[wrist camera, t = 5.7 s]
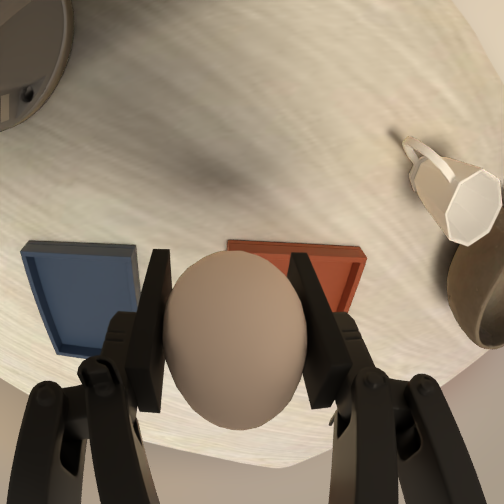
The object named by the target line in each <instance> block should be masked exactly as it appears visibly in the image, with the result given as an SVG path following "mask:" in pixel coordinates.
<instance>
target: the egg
mask: <svg viewBox="0 0 504 504" xmlns="http://www.w3.org/2000/svg"><path fill="white" fill-rule="evenodd" d="M163 347H164V355H165V360H166V362H167V365H168V367H169V370H170V372H171V375H172V377H173V380H174V382H175V385H176V387H177V388H178V390H179V391H180V393H181V394H182V395H183V397H184V398H185V400H186V401H187V403H188V404H189V405H190V406H191V408H192V409H193V410H194V411H195V412H197V413H198V414H199V415H200V416H202V417H203V418H204V419H206V420H207V421H209V422H211V423H213V424H215V425H217V426H219V427H223V428H227V429H231V430H247V429H252V428H257V427H259V426H261V425H263V424H265V423H267V422H268V421H270V420H271V419H273V418H274V417H275V416H276V415H278V414H279V413H280V412H281V411H282V410H283V409H284V408H285V407H286V406H287V404H288V403H289V402H290V401H291V399H292V397H293V395H294V393H295V390H296V388H297V386H298V384H299V382H300V380H301V376H302V372H303V368H304V363H305V359H306V355H307V323H306V320H305V316H304V312H303V308H302V304H301V301H300V299H299V297H298V295H297V293H296V291H295V289H294V288H293V286H292V284H291V283H290V281H289V280H288V278H287V277H286V276H285V275H284V274H283V273H282V272H281V271H280V270H279V269H278V268H276V267H275V266H274V265H273V264H272V263H270V262H269V261H268V260H266V259H264V258H262V257H260V256H257V255H254V254H251V253H247V252H244V251H220V252H216V253H213V254H211V255H208V256H206V257H204V258H202V259H201V260H199V261H198V262H196V263H195V264H193V265H192V266H190V267H189V268H187V270H186V271H185V272H184V273H183V274H182V275H181V276H180V277H179V279H178V280H177V282H176V284H175V286H174V288H173V289H172V291H171V293H170V295H169V297H168V300H167V304H166V308H165V311H164V317H163Z"/></svg>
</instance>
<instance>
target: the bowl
mask: <svg viewBox="0 0 504 504" xmlns="http://www.w3.org/2000/svg"><path fill="white" fill-rule="evenodd" d="M447 295H448V302H449V306H450V308H451V310H452V313H453V315H454V317H455V319H456V321H457V322H458V324H459V326H460V327H461V329H462V330H463V331H464V332H465V333H466V335H467V336H468V337H469V339H470V340H472V341H473V342H474V343H475V344H476V345H478V346H479V347H481V348H484V349H498V348H501V347H503V346H504V207H503V208H501V209H500V211H499V213H498V216H497V218H496V220H495V222H494V224H493V226H492V228H491V230H490V232H489V233H488V234H486V235H485V236H483V237H482V238H480V239H479V240H477V241H476V242H474V243H473V244H471V245H470V246H465V245H462V244H460V246H459V247H458V249H457V251H456V253H455V255H454V257H453V260H452V262H451V265H450V267H449V272H448V277H447Z"/></svg>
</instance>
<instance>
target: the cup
mask: <svg viewBox="0 0 504 504" xmlns="http://www.w3.org/2000/svg"><path fill="white" fill-rule="evenodd" d="M402 146H403V148H404V151H405V153H406V155H407V156H408V158H409V159H410V161H411V162H412V163H413V166H412V169H411V171H410V174H409V179H410V182H411V186H412V189H413V191H415V192H417V193H418V196H419V198H420V199H421V201H422V203H423V204H424V206H425V208H426V209H427V211H428V212H429V213H430V215H431V216H432V217H433V218H434V220H435V221H436V222H437V224H438V225H439V226H440V228H441V229H442V231H443V232H444V234H445V235H446V236H447V238H448V239H449V240H450V241H453V242H456V243H459V244H462V245H465V246H470V245H471V244H473V243H474V242H476V241H477V240H479V239H480V238H482V237H483V236H485V235H486V234H488V233H489V232H490V230H491V228H492V226H493V224H494V222H495V220H496V218H497V216H498V213H499V211H500V209H501V207H502V197H501V186H500V179H498V178H497V177H495V176H494V175H492V174H491V173H489V172H487V171H486V170H484V169H483V168H480V167H477V166H474V165H471V164H467V163H464V162H461V161H457V160H454V159H451V158H448V157H440V156H439V155H438V154H437V153H436V152H435V151H433V150H432V149H431V148H430V147H428V146H427V145H425V144H424V143H422V142H421V141H419V140H417V139H415V138H413V137H410V136H408V137H407V138H406V139H405V140H404V141H403V142H402ZM413 149H415V150H417V151H418V152H419V153H421V154H422V155H424V156H422V157H420V158H418V157H417V155H416V154H415V152H414V150H413Z"/></svg>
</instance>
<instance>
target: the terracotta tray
mask: <svg viewBox="0 0 504 504" xmlns="http://www.w3.org/2000/svg"><path fill="white" fill-rule="evenodd" d="M227 251H244V252H247V253H251V254H254V255H257V256H260V257H262V258H264V259H266V260H268V261H269V262H270V263H272V264H273V265H274V266H275V267H276V268H278V269H279V270H280V271H281V272H282V273H283V274H284V275H285V276H286V277H287V272H288V267H289V262H290V256H291V252H305V253H307V254H308V256H309V258H310V261H311V263H312V265H313V268H314V270H315V272H316V275H317V277H318V279H319V282H320V284H321V286H322V289H323V291H324V293H325V296H326V298H327V301H328V303H329V305H330V308H331V310H332V312H347V313H348V311H349V308H350V305H351V303H352V300H353V297H354V295H355V292H356V289H357V286H358V284H359V281H360V278H361V275H362V272H363V269H364V266H365V263H366V260H367V257H366V255H365V254H364V252H363V251H362V250H361V248H360V247H353V246H335V245H316V244H298V243H278V242H258V241H238V240H228V244H227Z"/></svg>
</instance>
